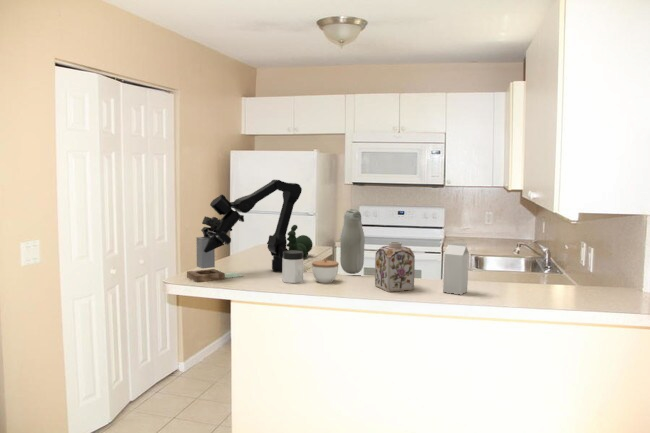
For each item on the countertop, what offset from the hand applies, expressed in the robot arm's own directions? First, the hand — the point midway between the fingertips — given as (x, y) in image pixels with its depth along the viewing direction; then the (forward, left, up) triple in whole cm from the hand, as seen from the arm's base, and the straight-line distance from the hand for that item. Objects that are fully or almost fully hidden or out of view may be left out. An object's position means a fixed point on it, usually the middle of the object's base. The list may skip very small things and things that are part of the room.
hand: (202, 250), depth 237 cm
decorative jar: (-73, +27, -12) cm, 79 cm away
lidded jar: (-49, +11, -12) cm, 52 cm away
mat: (-12, -5, -11) cm, 17 cm away
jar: (-36, +9, -12) cm, 39 cm away
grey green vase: (-64, -4, -12) cm, 65 cm away
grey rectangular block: (-1, -1, -7) cm, 7 cm away
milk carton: (-94, +37, -12) cm, 102 cm away
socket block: (-1, -1, -11) cm, 11 cm away
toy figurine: (-47, -44, -12) cm, 66 cm away
